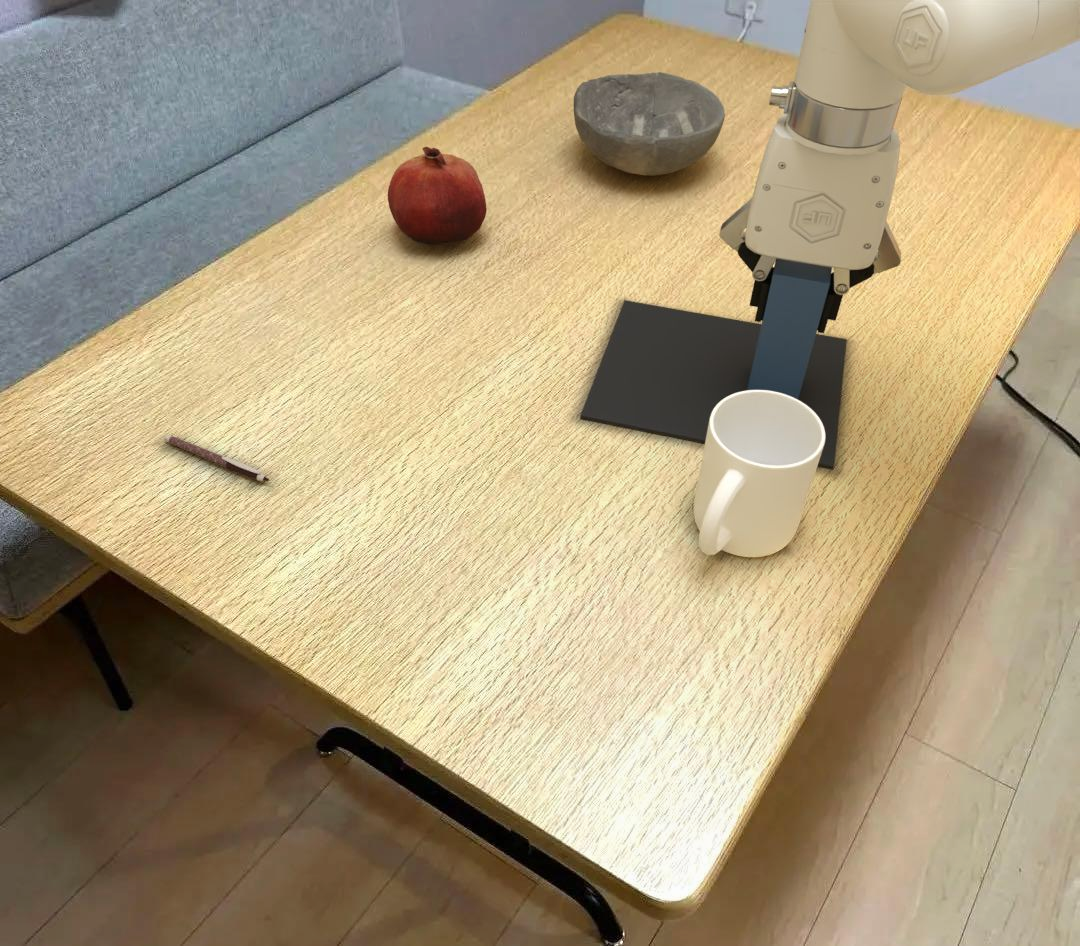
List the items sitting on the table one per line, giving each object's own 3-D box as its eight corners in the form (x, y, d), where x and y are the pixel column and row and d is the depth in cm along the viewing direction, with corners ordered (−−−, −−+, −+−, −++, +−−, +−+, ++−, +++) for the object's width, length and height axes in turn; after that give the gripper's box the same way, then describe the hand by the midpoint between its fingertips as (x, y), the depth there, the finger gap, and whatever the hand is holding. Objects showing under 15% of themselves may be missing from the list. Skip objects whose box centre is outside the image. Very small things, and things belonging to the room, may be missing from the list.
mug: (742, 611, 69) (767, 518, 62) (646, 557, 73) (660, 463, 65) (814, 513, 76) (845, 419, 69) (723, 469, 79) (744, 374, 72)
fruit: (374, 249, 102) (363, 162, 95) (419, 205, 108) (412, 121, 101) (462, 272, 99) (457, 185, 92) (503, 226, 105) (502, 141, 98)
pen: (272, 480, 78) (269, 472, 77) (266, 486, 77) (263, 478, 77) (167, 436, 81) (164, 427, 81) (160, 442, 81) (157, 433, 80)
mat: (845, 342, 92) (846, 338, 91) (833, 469, 80) (834, 466, 79) (624, 303, 96) (624, 299, 95) (580, 418, 84) (580, 415, 83)
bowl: (725, 202, 110) (736, 136, 104) (573, 200, 110) (575, 134, 104) (706, 129, 122) (715, 67, 116) (570, 128, 122) (572, 66, 116)
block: (800, 374, 88) (833, 253, 78) (796, 405, 85) (829, 283, 75) (752, 365, 88) (779, 244, 79) (745, 396, 85) (773, 274, 76)
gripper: (717, 118, 67) (685, 326, 80) (966, 152, 64) (890, 363, 77) (731, 75, 72) (699, 277, 85) (963, 105, 69) (893, 310, 82)
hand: (791, 316), depth 81 cm, fingers closed on block, 4 cm apart
